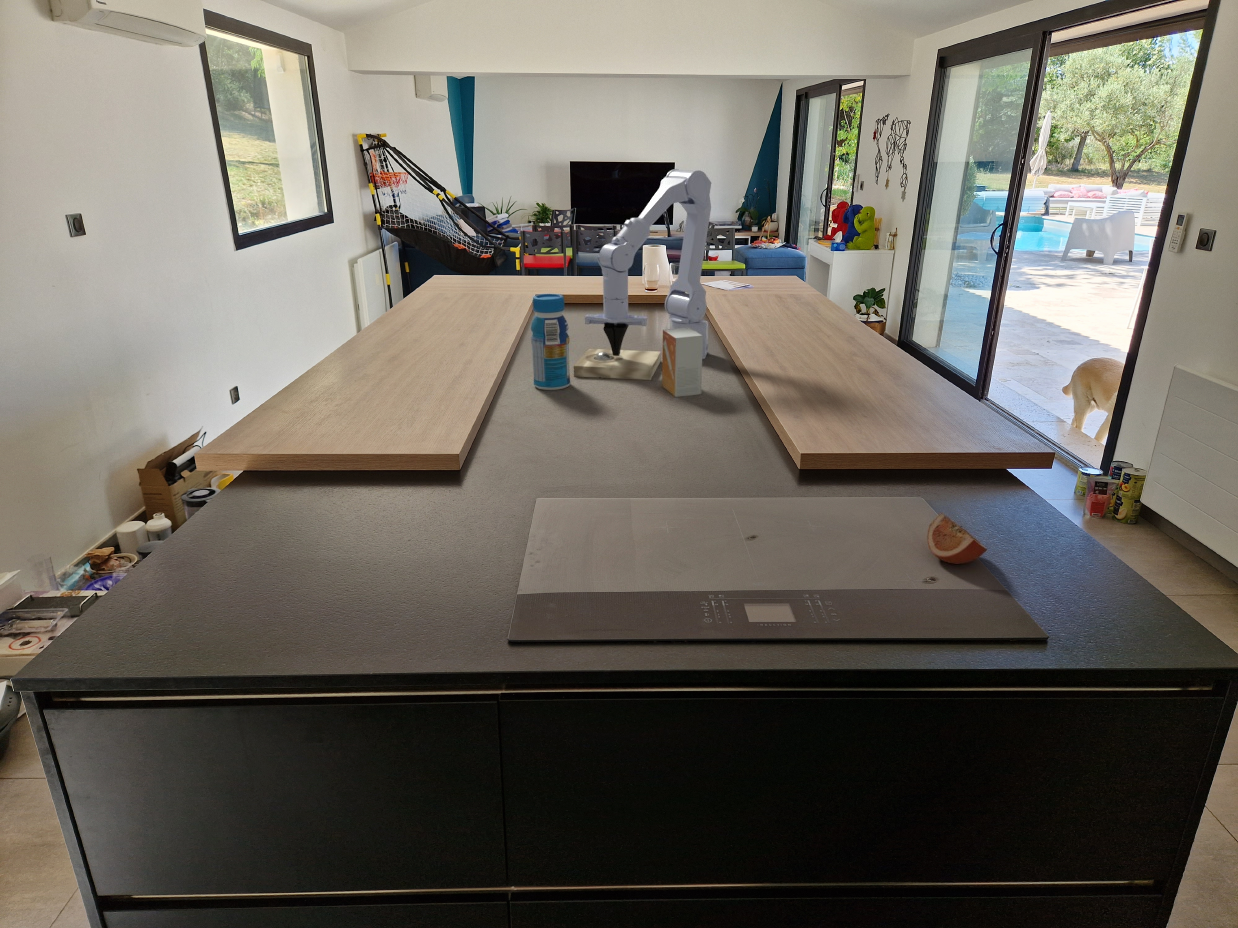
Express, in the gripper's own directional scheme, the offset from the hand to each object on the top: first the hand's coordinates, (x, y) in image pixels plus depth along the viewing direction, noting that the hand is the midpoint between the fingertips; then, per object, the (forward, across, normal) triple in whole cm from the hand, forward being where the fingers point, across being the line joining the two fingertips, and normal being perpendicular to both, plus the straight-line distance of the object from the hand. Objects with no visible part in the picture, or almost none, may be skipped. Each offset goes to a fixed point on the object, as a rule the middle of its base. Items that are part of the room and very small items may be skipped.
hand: (616, 354), depth 193 cm
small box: (+4, +18, -15) cm, 23 cm away
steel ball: (+1, -3, 0) cm, 3 cm away
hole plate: (+3, 0, 0) cm, 3 cm away
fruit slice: (+4, +62, -83) cm, 104 cm away
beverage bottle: (+4, -12, -16) cm, 20 cm away
